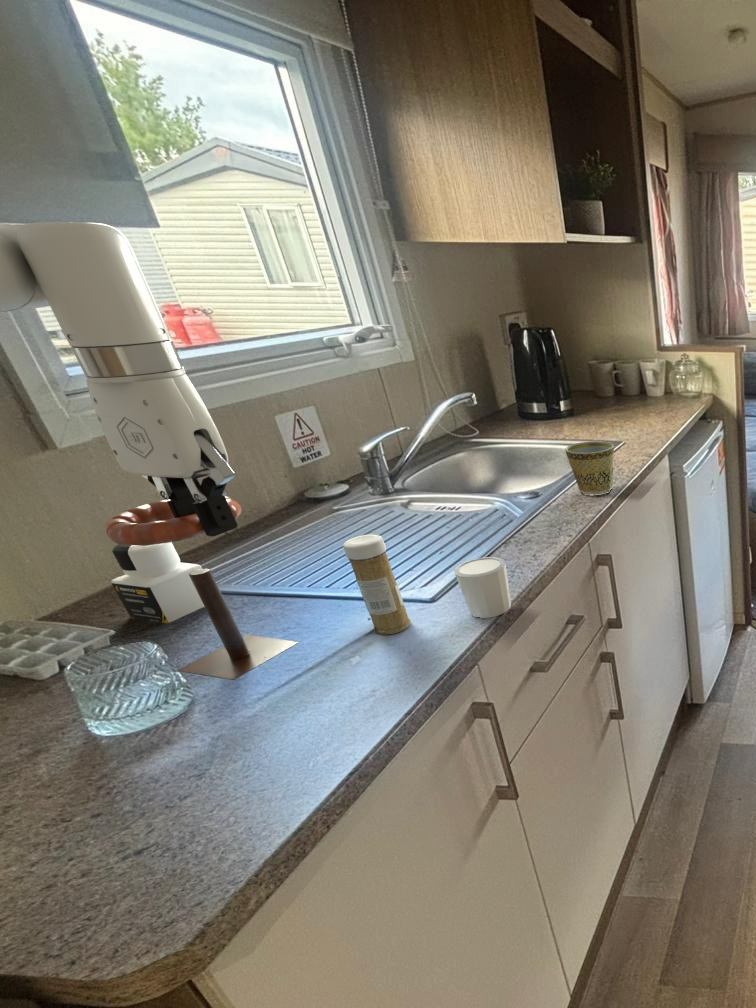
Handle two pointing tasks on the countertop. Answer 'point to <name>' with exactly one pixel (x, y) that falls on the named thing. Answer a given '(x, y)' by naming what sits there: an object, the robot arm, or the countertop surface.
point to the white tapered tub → (484, 586)
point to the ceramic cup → (592, 466)
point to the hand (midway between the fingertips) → (210, 529)
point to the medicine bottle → (155, 583)
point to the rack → (229, 637)
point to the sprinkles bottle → (377, 583)
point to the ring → (156, 524)
